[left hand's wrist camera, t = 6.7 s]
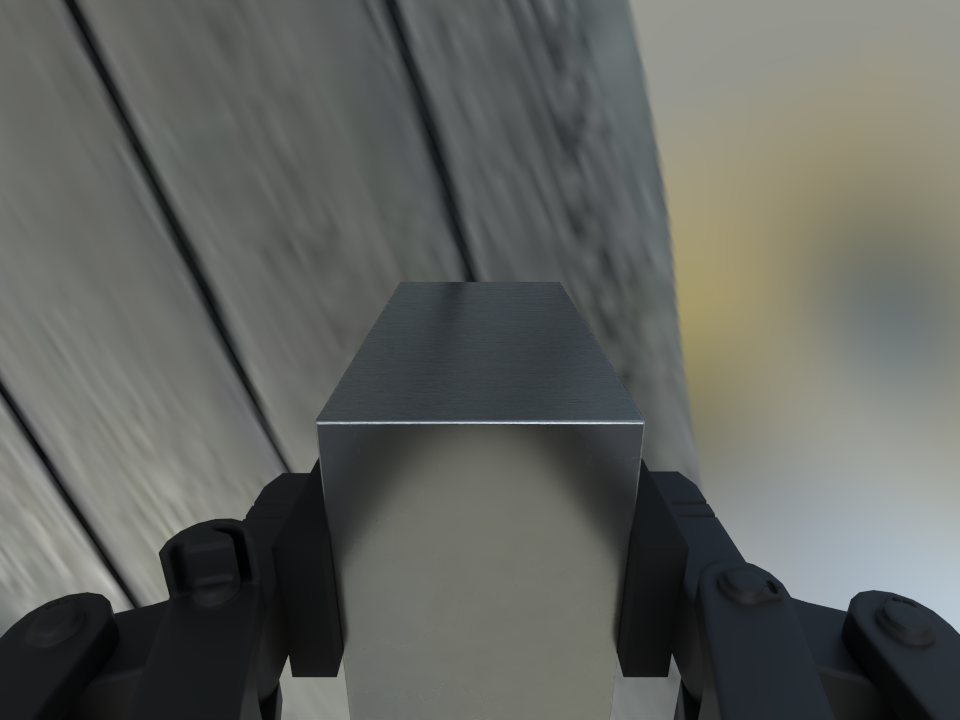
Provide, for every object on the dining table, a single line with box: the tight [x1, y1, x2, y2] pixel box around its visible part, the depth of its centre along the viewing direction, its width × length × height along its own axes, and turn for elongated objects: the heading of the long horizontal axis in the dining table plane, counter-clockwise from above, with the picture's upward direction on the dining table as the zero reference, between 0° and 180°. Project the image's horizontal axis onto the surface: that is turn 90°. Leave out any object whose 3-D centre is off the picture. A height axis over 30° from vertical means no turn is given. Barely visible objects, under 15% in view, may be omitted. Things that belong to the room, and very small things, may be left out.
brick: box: [315, 282, 645, 720], centre depth 14 cm, size 7×5×9 cm
